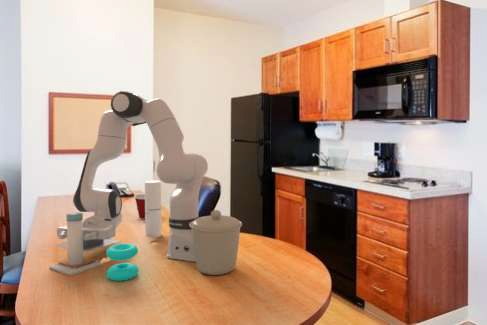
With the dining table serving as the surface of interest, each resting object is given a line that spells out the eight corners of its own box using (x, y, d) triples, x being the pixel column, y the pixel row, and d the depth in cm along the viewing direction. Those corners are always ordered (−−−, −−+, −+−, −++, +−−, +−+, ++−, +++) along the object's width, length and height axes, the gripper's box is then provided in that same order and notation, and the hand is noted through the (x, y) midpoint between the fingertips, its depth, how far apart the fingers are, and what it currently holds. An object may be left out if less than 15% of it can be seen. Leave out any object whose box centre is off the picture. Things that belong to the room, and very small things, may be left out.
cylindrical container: (157, 238, 166) (156, 183, 164) (142, 237, 167) (141, 182, 165) (164, 233, 173) (163, 180, 171) (149, 232, 174) (148, 180, 172)
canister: (215, 257, 141) (215, 202, 139) (252, 268, 130) (252, 209, 128) (179, 271, 127) (178, 210, 125) (217, 285, 116) (217, 219, 114)
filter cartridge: (86, 263, 132) (85, 213, 130) (73, 267, 127) (72, 216, 126) (77, 260, 134) (76, 212, 133) (64, 265, 130) (63, 214, 129)
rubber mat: (101, 264, 133) (101, 262, 133) (70, 275, 123) (70, 273, 123) (80, 258, 139) (80, 256, 139) (49, 268, 129) (49, 266, 129)
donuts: (143, 247, 122) (114, 254, 115) (144, 276, 122) (115, 285, 116) (129, 240, 129) (100, 246, 122) (129, 268, 130) (101, 276, 123)
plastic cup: (142, 220, 199) (142, 198, 198) (130, 217, 205) (130, 195, 204) (158, 216, 208) (158, 195, 207) (146, 213, 214) (145, 193, 213)
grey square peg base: (121, 244, 157) (120, 231, 156) (83, 256, 141) (82, 242, 141) (93, 237, 166) (93, 225, 165) (55, 248, 151) (55, 235, 150)
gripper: (69, 218, 144) (45, 227, 130) (118, 220, 141) (99, 229, 127) (70, 234, 144) (46, 244, 131) (119, 236, 141) (100, 247, 128)
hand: (73, 237), depth 129 cm, fingers open, 8 cm apart
